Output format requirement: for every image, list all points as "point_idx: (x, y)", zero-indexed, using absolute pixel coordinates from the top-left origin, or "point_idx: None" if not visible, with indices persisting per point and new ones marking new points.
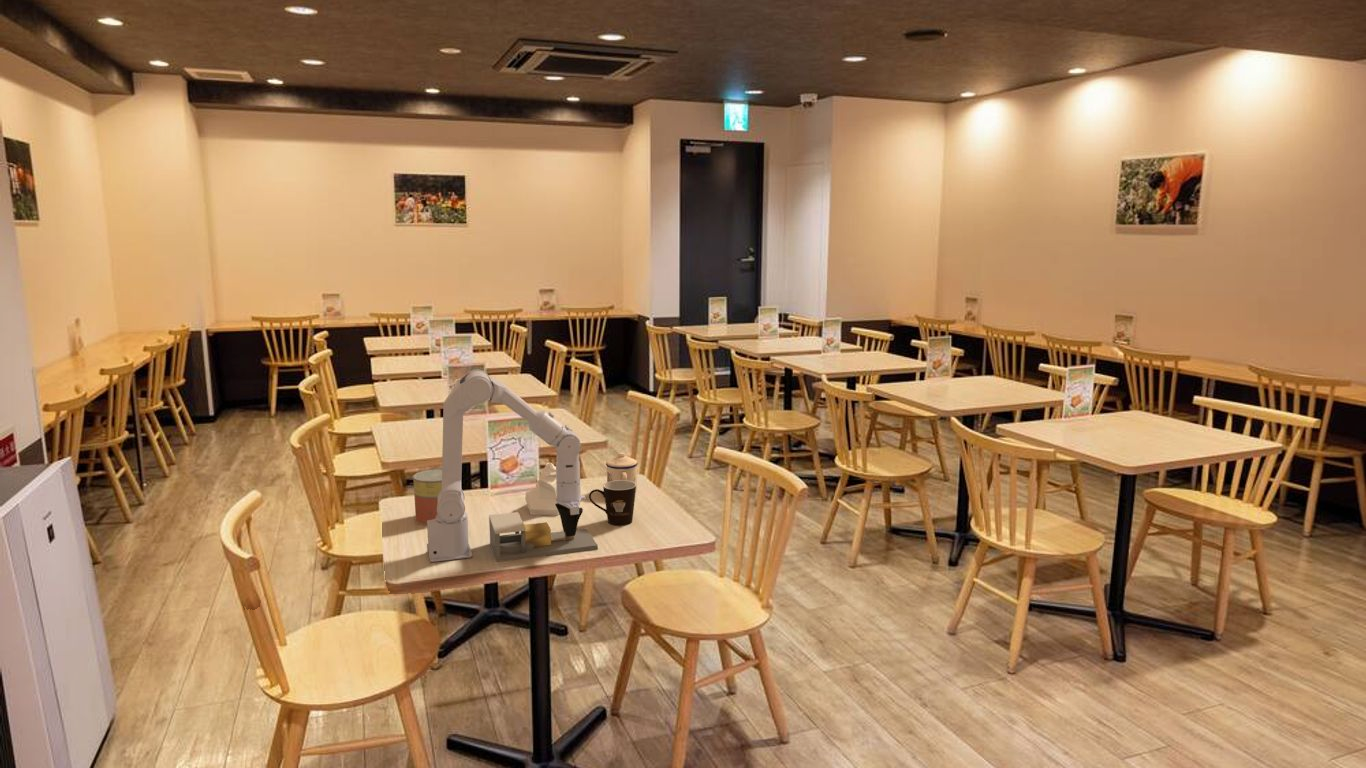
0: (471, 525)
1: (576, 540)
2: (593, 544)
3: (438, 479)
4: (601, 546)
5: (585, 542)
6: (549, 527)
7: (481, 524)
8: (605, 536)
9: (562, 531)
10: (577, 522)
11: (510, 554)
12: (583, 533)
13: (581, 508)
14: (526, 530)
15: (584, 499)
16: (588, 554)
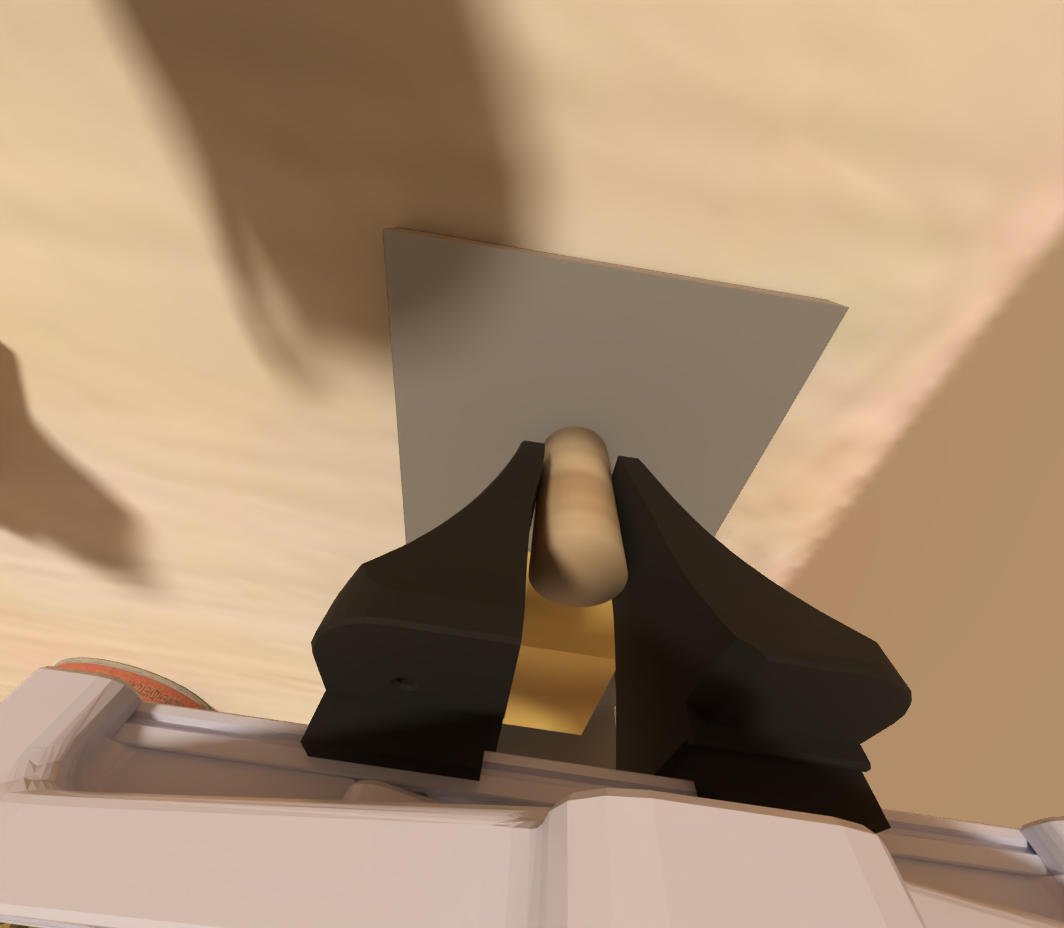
0: (208, 659)
1: (625, 421)
2: (801, 335)
3: None
4: (798, 236)
5: (707, 377)
6: (584, 655)
7: (196, 639)
8: (580, 52)
9: (401, 439)
10: (710, 538)
11: (610, 686)
12: (500, 311)
13: (817, 674)
14: (562, 728)
15: (887, 863)
16: (849, 404)
